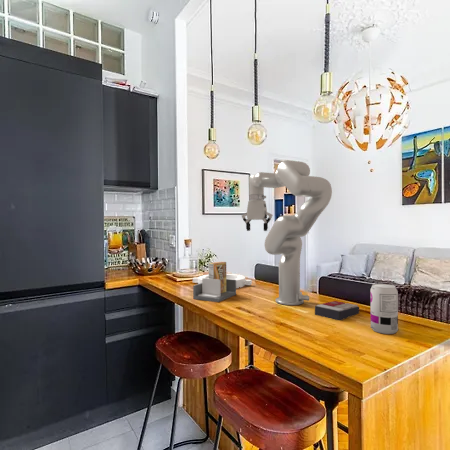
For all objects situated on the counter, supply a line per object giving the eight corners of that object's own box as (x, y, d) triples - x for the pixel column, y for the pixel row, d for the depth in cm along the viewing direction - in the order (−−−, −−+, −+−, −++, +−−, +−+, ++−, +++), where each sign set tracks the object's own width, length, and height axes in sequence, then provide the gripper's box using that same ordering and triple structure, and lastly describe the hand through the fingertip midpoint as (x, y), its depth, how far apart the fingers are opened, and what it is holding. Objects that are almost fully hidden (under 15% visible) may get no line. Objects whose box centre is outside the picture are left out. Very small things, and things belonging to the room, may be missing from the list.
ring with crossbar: (190, 283, 197) (190, 275, 197) (230, 279, 210) (230, 272, 210) (210, 292, 172) (210, 283, 172) (254, 286, 185) (254, 278, 185)
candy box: (221, 290, 165) (220, 261, 165) (226, 292, 162) (226, 261, 162) (208, 293, 159) (208, 262, 159) (214, 295, 156) (213, 263, 156)
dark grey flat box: (359, 304, 128) (340, 309, 119) (359, 315, 128) (339, 321, 118) (334, 300, 137) (314, 304, 127) (334, 310, 137) (314, 315, 127)
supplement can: (366, 330, 107) (366, 285, 107) (376, 325, 113) (375, 282, 113) (392, 336, 101) (392, 289, 101) (401, 330, 107) (401, 285, 107)
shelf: (236, 294, 164) (236, 275, 164) (218, 302, 148) (218, 281, 148) (212, 291, 170) (212, 274, 170) (193, 298, 155) (193, 279, 155)
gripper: (274, 198, 169) (274, 230, 169) (244, 199, 177) (245, 230, 177) (269, 197, 162) (269, 231, 162) (238, 198, 171) (239, 230, 171)
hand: (256, 230), depth 170 cm, fingers open, 9 cm apart
